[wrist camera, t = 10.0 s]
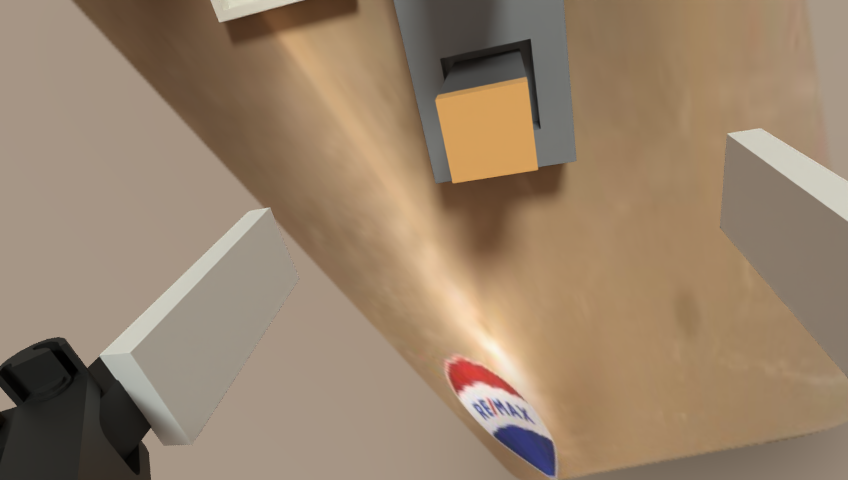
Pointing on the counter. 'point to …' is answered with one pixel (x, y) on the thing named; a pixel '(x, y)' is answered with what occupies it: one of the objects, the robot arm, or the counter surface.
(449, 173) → the grey socket block
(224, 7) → the tray
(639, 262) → the counter surface
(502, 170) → the plug
